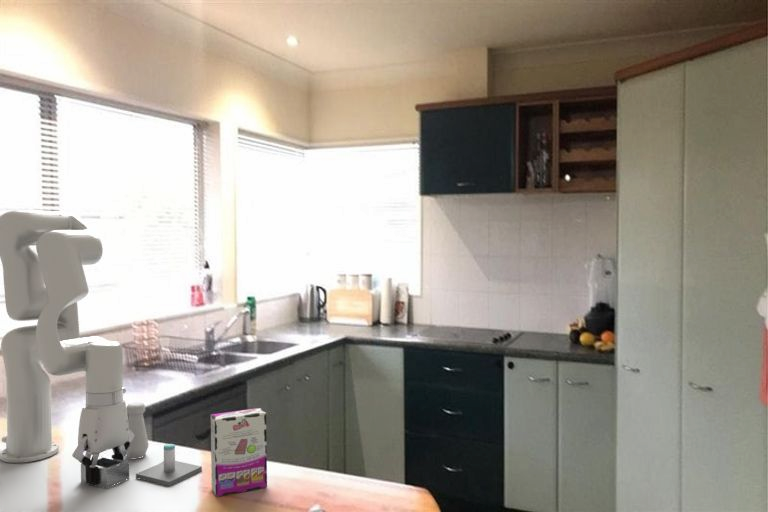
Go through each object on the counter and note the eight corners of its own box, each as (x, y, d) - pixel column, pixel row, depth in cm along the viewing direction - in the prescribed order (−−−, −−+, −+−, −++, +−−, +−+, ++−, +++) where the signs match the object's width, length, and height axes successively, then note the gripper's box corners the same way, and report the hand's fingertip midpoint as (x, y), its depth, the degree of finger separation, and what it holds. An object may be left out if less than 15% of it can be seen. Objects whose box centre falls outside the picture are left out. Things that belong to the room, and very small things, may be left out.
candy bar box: (261, 479, 139) (261, 406, 138) (267, 487, 134) (267, 412, 134) (210, 488, 134) (209, 413, 133) (215, 497, 129) (215, 419, 129)
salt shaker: (139, 461, 150) (139, 407, 149) (118, 459, 151) (117, 406, 150) (153, 452, 155) (152, 401, 155) (132, 451, 156) (132, 399, 156)
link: (81, 481, 137) (80, 464, 137) (104, 472, 142) (103, 455, 142) (106, 488, 133) (106, 470, 133) (129, 478, 139) (129, 461, 139)
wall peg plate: (135, 478, 139) (135, 448, 139) (169, 463, 148) (169, 436, 148) (169, 486, 135) (169, 456, 135) (201, 470, 144) (201, 442, 144)
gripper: (124, 387, 147) (124, 463, 147) (57, 405, 131) (58, 489, 132) (147, 391, 143) (148, 468, 144) (82, 409, 128) (82, 496, 128)
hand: (105, 477), depth 138 cm, fingers closed on link, 6 cm apart
